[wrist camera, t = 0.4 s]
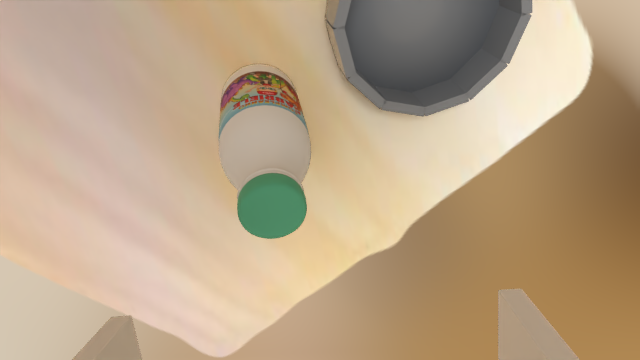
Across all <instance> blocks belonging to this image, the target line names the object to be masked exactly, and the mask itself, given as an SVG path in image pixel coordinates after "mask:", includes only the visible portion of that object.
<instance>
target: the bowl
mask: <svg viewBox="0 0 640 360" xmlns="http://www.w3.org/2000/svg"><path fill="white" fill-rule="evenodd" d="M530 13H532V0H327V9H326V15H325V18H326V19H325V21H326V24H327V29H328V34H329V39H330V42H331V45H332V48H333V50H334V53H335V56H336V60H337V63H338V66H339V67H340V69H341V70H342V72H343V74H344V75H345V77H346V78H347V80H348V81H349V82H350V83H351V84H352V85H354V86H355V87H356V88H357V89H358V90H359V91H360V92H361V93H362V94H364V95H365V96H366V97H367V98H368V99H369V100H370V101H371V102H372V103H374V104H375V105H376V106H377V107H378V108H379V109H380V108H381V110H386V111H392V112H398V113H405V114H411V115H417V116H424V115H425V116H428V115H431V114H433V113H436V112H439V111H442V110H445V109H448V108H451V107H454V106H456V105H459V104H462V103H465V102H468V101H469V99H470V100H471V99H472V98H473V97H475V96H476V95H477V94H478V93H479V92H480V91H481V90H482V89H483V88H484V87H485V86H486V85H487V84H489V83H490V82H491V81H492V80H493V79H494V78H495V77H496V76H497V75H498V74H499V73H500V72H501V71H503V70H504V69H505V68H506V67H507V66H508V65H507V64H506V63H508V64H509V63H510V61H511V59H512V56H513V54H514V52H515V50H516V48H517V46H518V43H519V41H520V39H521V37H522V35H523V33H524V30H525V28H526V26H527V24H528V22H529V20H530V17H531V15H530Z"/></svg>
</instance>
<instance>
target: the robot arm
mask: <svg viewBox="0 0 640 360" xmlns="http://www.w3.org/2000/svg"><path fill="white" fill-rule="evenodd" d="M498 299H499V300H498V302H499V304H498V307H499V308H498V309H499V311H498V316H499V317H498V326H499V327H498V333H499V334H498V336H499V337H498V346H499V348H498V359H499V360H579V358H578V357H577V356H576V355H575V354H574V352H573V351H572V350H571V349H570V347H569V346H568V345H567V344H566V343H565V341H564V340H563V339H562V338H561V336H560V335H559V334H558V333H557V332H556V331H555V329H554V328H553V327H552V326H551V324H550V323H549V322H548V321H547V319H546V318H545V317H544V316H543V315H542V313H541V312H540V311H539V310H538V308H537V307H536V306H535V305H534V304H533V302H532V301H531V300H530V299H529V297H528V296H527V295H526V294H525V293H524V291H523V290H522V289H509V290H499V291H498ZM72 360H142V357H141V353H140V349H139V345H138V341H137V336H136V332H135V328H134V324H133V321H132V316H118V317H111V318H110V319H109V320H108V321H107V322H106V323H105V324H104V326H103V327H102V328H101V329H100V330H99V331H98V332H97V333H96V334H95V335H94V336H93V337H92V338H91V340H90V341H89V342H88V343H87V344H86V345H85V346H84V347H83V348H82V349H81V351H80V352H79V353H78V354H77V355H76V356H75V357H74V358H73V359H72Z"/></svg>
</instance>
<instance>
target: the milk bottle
mask: <svg viewBox="0 0 640 360" xmlns="http://www.w3.org/2000/svg"><path fill="white" fill-rule="evenodd" d="M219 156H220V161H221V165H222V168H223V170H224V172H225V175H226V176H227V178H228V179H229V181H230V182H231V183H232V185H233V186H234V187H235V188H236V189H237V190H238V194H237V199H238V203H237V210H238V217H239V220H240V222H241V224H242V225H243V227H244V228H245V229H246V230H247V231H248V232H250V233H251V234H253V235H255V236H258V237H261V238H268V239H272V238H280V237H283V236H286V235H288V234H290V233H292V232H294V231H295V230H296V229H297V228H298V227H299V226H300V225H301V224H302V222H303V221H304V218H305V215H306V211H307V204H306V198H305V195H304V190H303V187H302V184H301V182H302V181H303V179H304V177H305V175H306V173H307V170H308V168H309V164H310V158H311V144H310V138H309V134H308V129H307V126H306V122H305V119H304V116H303V112H302V109H301V106H300V103H299V99H298V96H297V93H296V90H295V88H294V86H293V84H292V82H291V80H290V79H289V78H288V76H287V75H286V74H285V73H283V72H282V71H281V70H279V69H277V68H275V67H273V66H270V65H265V64H252V65H248V66H245V67H242V68H240V69H239V70H237V71H236V72H234V73H233V74H232V75H231V76H230V77H229V79H228V80H227V82H226V83H225V85H224V88H223V92H222V98H221V109H220V123H219Z"/></svg>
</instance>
